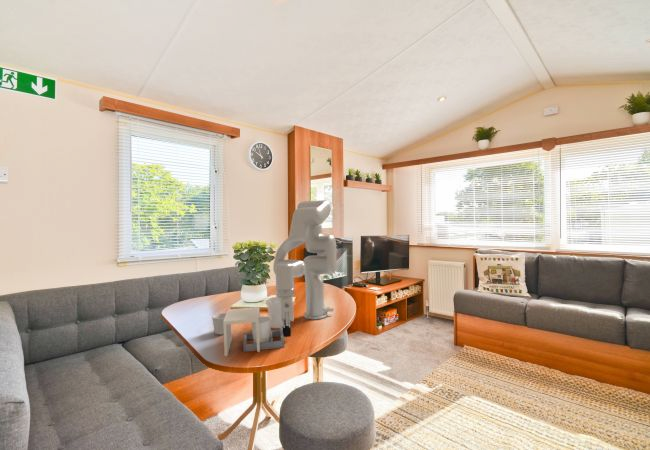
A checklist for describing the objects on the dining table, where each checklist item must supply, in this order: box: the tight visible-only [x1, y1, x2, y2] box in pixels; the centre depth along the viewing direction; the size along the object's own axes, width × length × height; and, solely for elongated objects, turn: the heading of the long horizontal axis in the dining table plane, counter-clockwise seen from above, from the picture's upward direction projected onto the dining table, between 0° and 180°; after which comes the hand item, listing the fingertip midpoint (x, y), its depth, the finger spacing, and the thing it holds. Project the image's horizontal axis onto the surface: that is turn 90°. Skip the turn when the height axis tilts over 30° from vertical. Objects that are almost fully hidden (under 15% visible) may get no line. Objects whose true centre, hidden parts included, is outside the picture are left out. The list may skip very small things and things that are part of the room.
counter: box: [223, 306, 261, 357], centre depth 124 cm, size 13×16×13 cm
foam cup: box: [266, 296, 283, 329], centre depth 145 cm, size 10×9×13 cm
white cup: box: [251, 316, 272, 343], centre depth 125 cm, size 8×8×10 cm
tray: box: [242, 326, 285, 353], centre depth 125 cm, size 16×13×4 cm
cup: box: [212, 312, 227, 336], centre depth 140 cm, size 11×8×8 cm
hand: (286, 336), depth 127 cm, fingers closed
